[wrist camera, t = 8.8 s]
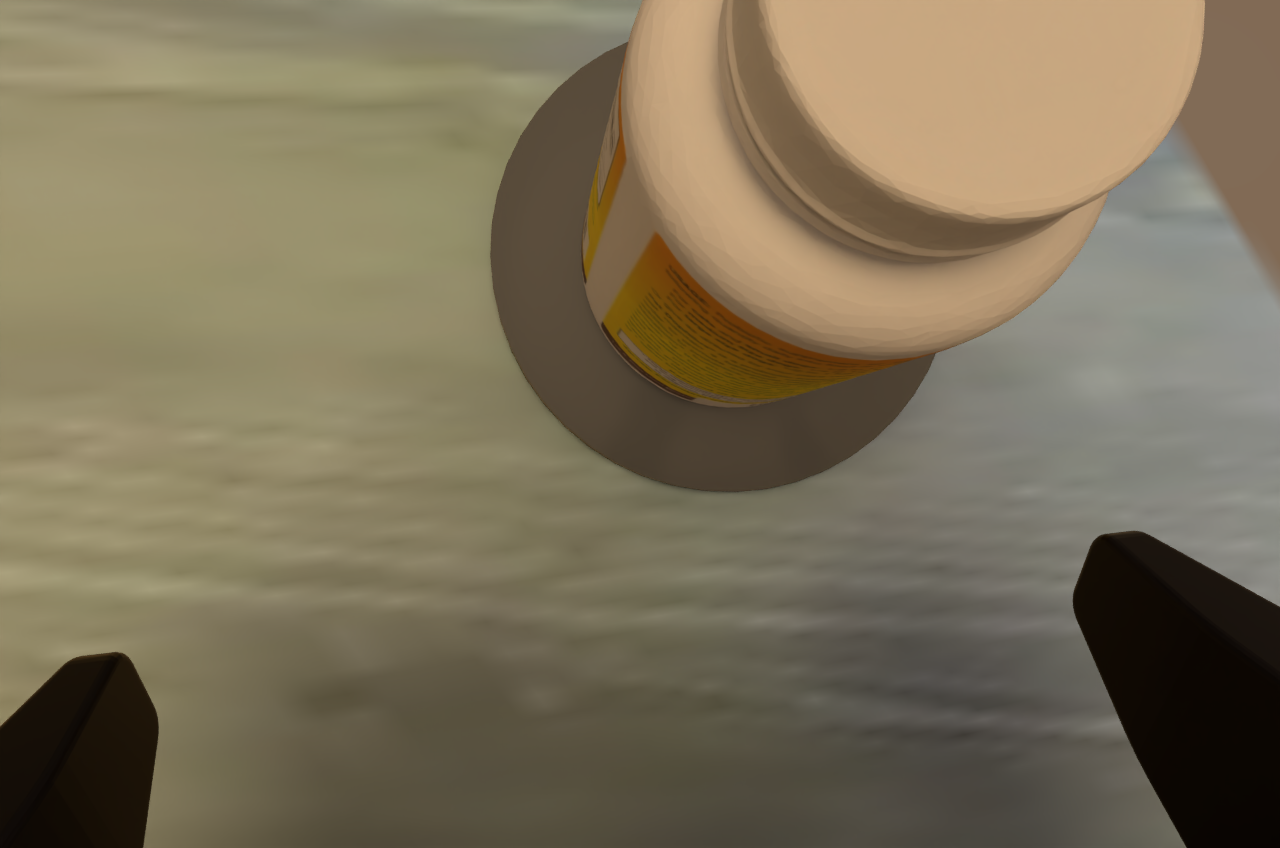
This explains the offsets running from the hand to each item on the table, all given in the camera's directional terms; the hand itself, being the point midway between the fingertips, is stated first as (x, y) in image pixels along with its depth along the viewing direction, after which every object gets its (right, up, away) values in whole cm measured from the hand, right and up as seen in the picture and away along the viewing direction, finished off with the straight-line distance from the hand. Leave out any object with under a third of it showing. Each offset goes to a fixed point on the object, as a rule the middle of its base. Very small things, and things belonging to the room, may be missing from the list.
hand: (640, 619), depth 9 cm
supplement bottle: (+2, +5, +9) cm, 11 cm away
